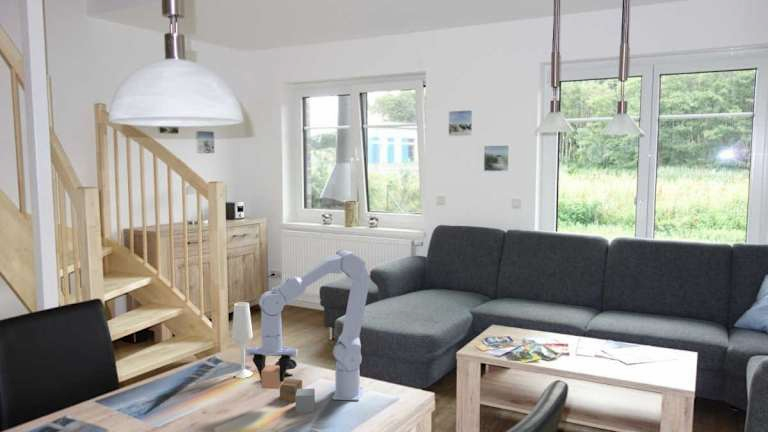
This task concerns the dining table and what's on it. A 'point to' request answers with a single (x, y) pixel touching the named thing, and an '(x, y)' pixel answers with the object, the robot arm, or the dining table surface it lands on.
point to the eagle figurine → (289, 365)
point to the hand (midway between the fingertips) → (272, 380)
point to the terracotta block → (271, 377)
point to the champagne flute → (242, 333)
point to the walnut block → (290, 389)
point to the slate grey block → (305, 400)
